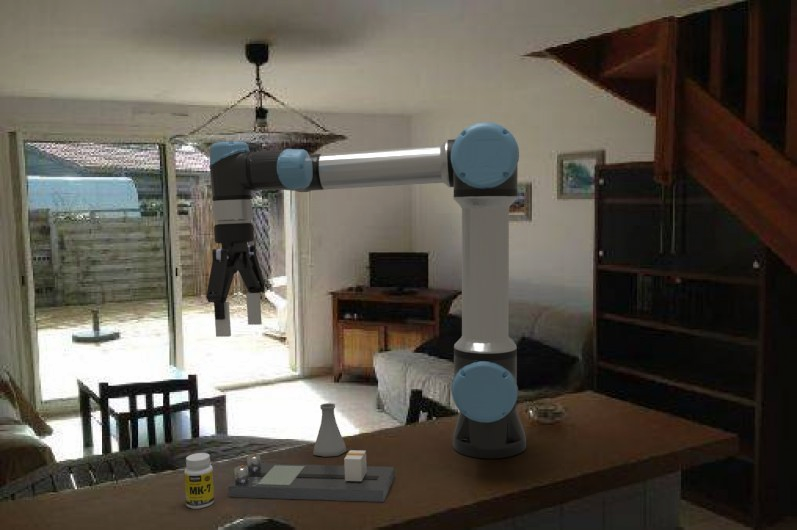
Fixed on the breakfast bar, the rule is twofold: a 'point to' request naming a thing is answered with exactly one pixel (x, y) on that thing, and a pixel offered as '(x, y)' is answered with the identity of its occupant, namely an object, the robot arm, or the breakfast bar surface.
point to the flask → (329, 434)
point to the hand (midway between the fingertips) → (240, 330)
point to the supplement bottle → (199, 481)
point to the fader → (355, 465)
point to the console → (308, 482)
